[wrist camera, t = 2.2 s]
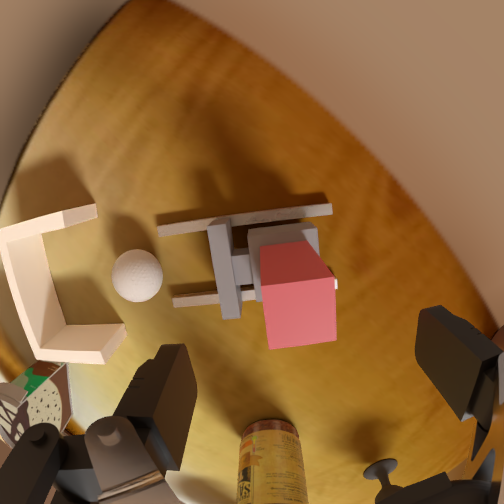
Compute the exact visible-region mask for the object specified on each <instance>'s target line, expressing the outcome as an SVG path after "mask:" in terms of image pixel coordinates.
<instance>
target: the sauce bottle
mask: <svg viewBox="0 0 504 504" xmlns="http://www.w3.org/2000/svg"><path fill="white" fill-rule="evenodd" d="M237 504H309V503H308V495H307V487H306V479H305V472H304V464H303V457H302V450H301V443H300V440H299V435H298V432H297V430H296V429H295V427H293V426H292V425H291V424H290V423H287V422H285V421H282V420H274V419H271V420H261V421H257V422H255V423H253V424H251V425H250V426H248V427H247V429H246V430H245V431H244V433H243V435H242V440H241V444H240V453H239V470H238V488H237Z"/></svg>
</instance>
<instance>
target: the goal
mask: <svg viewBox="0 0 504 504" xmlns="http://www.w3.org/2000/svg"><path fill="white" fill-rule="evenodd" d="M95 218H98V215H97V209H96V203H95V204H90V205H86V206H81V207H76V208H72V209H68V210H63V211H59V212H56V213H52V214H48V215H45V216H41V217H37V218H34V219H31V220H27V221H24V222H20V223H17V224H14V225H11V226H7V227H4V228H1V229H0V252H1V257H2V261H3V265H4V269H5V273H6V276H7V280H8V283H9V287H10V290H11V293H12V297H13V300H14V303H15V306H16V309H17V312H18V315H19V317H20V320H21V323H22V326H23V328H24V331H25V334H26V336H27V339H28V341H29V344H30V346H31V348H32V351H33V353H34V355H35V358H36V360H46V361H57V362H70V363H87V364H106V363H107V361H108V360H109V359H110V357H111V356H112V355H113V353H114V352H115V351H116V349H117V348H118V347H119V345H120V344H121V343H122V341H123V340H124V339H125V338H126V336H127V332H126V329H125V325H124V323H119V324H91V325H66V322H65V319H64V316H63V313H62V310H61V307H60V304H59V301H58V297H57V294H56V291H55V287H54V284H53V280H52V277H51V273H50V269H49V265H48V261H47V257H46V253H45V248H44V244H43V239H42V235H41V233H45V232H49V231H53V230H58V229H62V228H66V227H69V226H72V225H75V224H78V223H82V222H85V221H88V220H91V219H95Z"/></svg>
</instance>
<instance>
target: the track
mask: <svg viewBox="0 0 504 504" xmlns="http://www.w3.org/2000/svg"><path fill="white" fill-rule="evenodd" d="M331 214H333V213H332V203H320V204H311V205H302V206H293V207H285V208H277V209H269V210H261V211H253V212H245V213H238V214H230V215H223V216H216V217H209V218H202V219H195V220H189V221H182V222H176V223H169V224H163V225H159V226H157V229H158V234H159V237H162V236H169V235H175V234H182V233H189V232H196V231H203V230H207V226H208V225H209V224H210V223H211V222H212V221H213V220H218V219H225V218H230V223H231V227H233V226H240V225H248V224H256V223H263V222H271V221H280V220H288V219H296V218H305V217H313V216H322V215H331ZM334 279H335V289H337V278H336V277H335V276H334ZM240 289H241V295H242V301H246V300H255V299H256V296H255V289H254V286H251V287H243V288H240ZM172 301H173V305H174V308H175V307H186V306H197V305H208V304H218V303H220V301H219V295H218V290H216V291H207V292H197V293H187V294H177V295H174V296H173V298H172Z"/></svg>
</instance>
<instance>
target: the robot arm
mask: <svg viewBox="0 0 504 504" xmlns="http://www.w3.org/2000/svg"><path fill="white" fill-rule="evenodd" d="M415 356H416V360H417V362H418V364H419V366H420V367H421V368H422V369H423V371H424V372H425V373H426V375H427V376H428V377H429V379H430V380H431V381H432V383H433V384H434V385H435V387H436V388H437V389H438V391H439V392H440V393H441V395H442V396H443V397H444V399H445V400H446V401H447V403H448V404H449V406H450V407H451V408H452V410H453V411H454V413H455V414H456V415H457V417H458V418H459V420H460V421H461V422H462V421H464V420H466V419H468V418H470V417H473V416H474V417H475V418H476V421H475V423H474V425H473V430H472V437H471V442H470V448H469V453H468V458H467V463H466V467H465V471H464V474H463V476H462V478H461V480H453V481H450V480H449V478H448V476H447V474H446V472H442V473H440V474H438V475H435V476H433V477H430V478H428V479H425V480H423V481H420V482H418V483H415V484H412V485H409V486H406V487H404V488H403V489H401V490H399V491H398V492H396V493H394V494H392V495H391V496H389V497H387V498H385V499H383V500H381V501H380V502H378V503H376V504H504V326H502V327H501V328H500V329H499V331H498V332H497V333H496V334H495V336H494V337H493V338H492V340H490V339H489V338H487V337H486V336H485V335H484V334H481V332H480V331H479V330H478V329H477V328H474V326H473V325H472V324H470V323H469V322H468V321H467V320H465V319H462V318H460V317H458V316H455V315H453V314H452V313H451V312H449V311H448V310H447V309H446V308H444V307H443V306H442V305H438V306H434V307H430V308H425V309H422V310H421V311H420V313H419V318H418V327H417V335H416V343H415ZM128 387H129V388H127V389H126V391H125V393H124V395H123V397H122V399H121V401H120V402H119V404H118V406H117V408H116V410H115V412H114V414H113V416H107V417H104V418H101V419H98V420H97V421H95V422H94V423H92V424H91V425H90V426H89V427H88V429H87V430H86V432H85V434H83V435H72V436H62V434H61V433H60V431H59V430H58V428H57V427H56V426H55V425H53V424H51V423H38V424H35V425H33V426H31V427H29V428H28V429H27V430H26V431H24V433H23V434H22V435H21V437H20V438H19V440H18V442H17V443H16V445H15V446H14V448H13V449H12V451H11V453H10V454H9V456H8V457H7V459H6V460H5V462H4V464H3V465H2V467H1V469H0V504H44V502H45V500H46V497H47V495H48V493H49V490H50V489H51V486H52V485H53V486H54V487H55V489H56V492H55V494H54V497H53V499H52V501H51V504H181V502H180V501H179V500H178V498H177V497H176V495H175V494H174V492H173V491H172V489H171V488H170V487H169V485H168V484H167V482H166V481H165V479H164V478H165V474H166V471H167V470H173V471H180V467H181V463H182V458H183V454H184V450H185V445H186V441H187V437H188V432H189V428H190V424H191V420H192V415H193V411H194V407H195V403H196V399H197V384H196V379H195V376H194V372H193V369H192V365H191V362H190V358H189V355H188V351H187V348H186V346H185V344H165V345H161V347H160V348H159V350H158V352H157V354H156V356H155V358H154V359H148V360H147V361H146V362H145V363H144V364H143V365H141V366H140V367H139V368H138V369H137V371H136V373H135V375H134V377H133V380H131V382H130V384H129V386H128Z"/></svg>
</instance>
